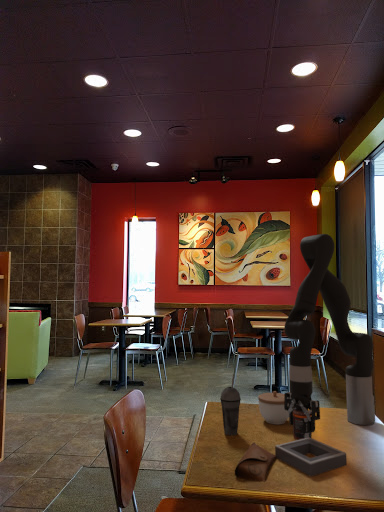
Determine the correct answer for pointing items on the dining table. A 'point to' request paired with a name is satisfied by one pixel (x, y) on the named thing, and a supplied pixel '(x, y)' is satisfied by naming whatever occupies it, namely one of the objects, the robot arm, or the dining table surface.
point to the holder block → (321, 463)
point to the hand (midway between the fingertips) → (301, 428)
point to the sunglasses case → (255, 464)
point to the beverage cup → (230, 409)
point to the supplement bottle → (300, 424)
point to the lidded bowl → (273, 408)
